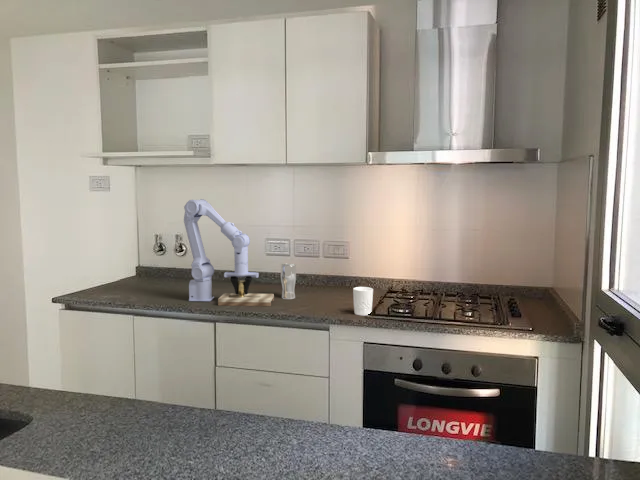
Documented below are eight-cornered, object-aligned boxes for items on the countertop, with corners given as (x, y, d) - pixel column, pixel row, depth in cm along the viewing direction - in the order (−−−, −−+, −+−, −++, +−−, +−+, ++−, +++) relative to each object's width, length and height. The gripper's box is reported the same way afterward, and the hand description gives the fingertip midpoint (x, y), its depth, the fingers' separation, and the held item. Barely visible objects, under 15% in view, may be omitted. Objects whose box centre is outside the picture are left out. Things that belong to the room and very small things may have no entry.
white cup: (352, 315, 203) (352, 290, 202) (353, 310, 211) (353, 286, 210) (372, 316, 202) (372, 290, 201) (373, 311, 209) (373, 287, 208)
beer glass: (294, 299, 231) (294, 266, 229) (278, 299, 232) (278, 265, 231) (297, 296, 238) (297, 263, 236) (283, 295, 239) (283, 263, 238)
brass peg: (236, 302, 223) (236, 281, 222) (237, 300, 227) (237, 280, 226) (245, 302, 223) (245, 281, 222) (247, 301, 227) (247, 280, 226)
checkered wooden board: (218, 305, 219) (218, 299, 219) (224, 299, 231) (224, 293, 231) (270, 306, 218) (270, 299, 218) (273, 300, 230) (273, 293, 230)
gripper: (259, 261, 227) (259, 292, 228) (226, 261, 227) (226, 291, 228) (257, 263, 220) (257, 295, 221) (222, 263, 220) (223, 295, 221)
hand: (241, 293), depth 224 cm, fingers closed on brass peg, 4 cm apart
